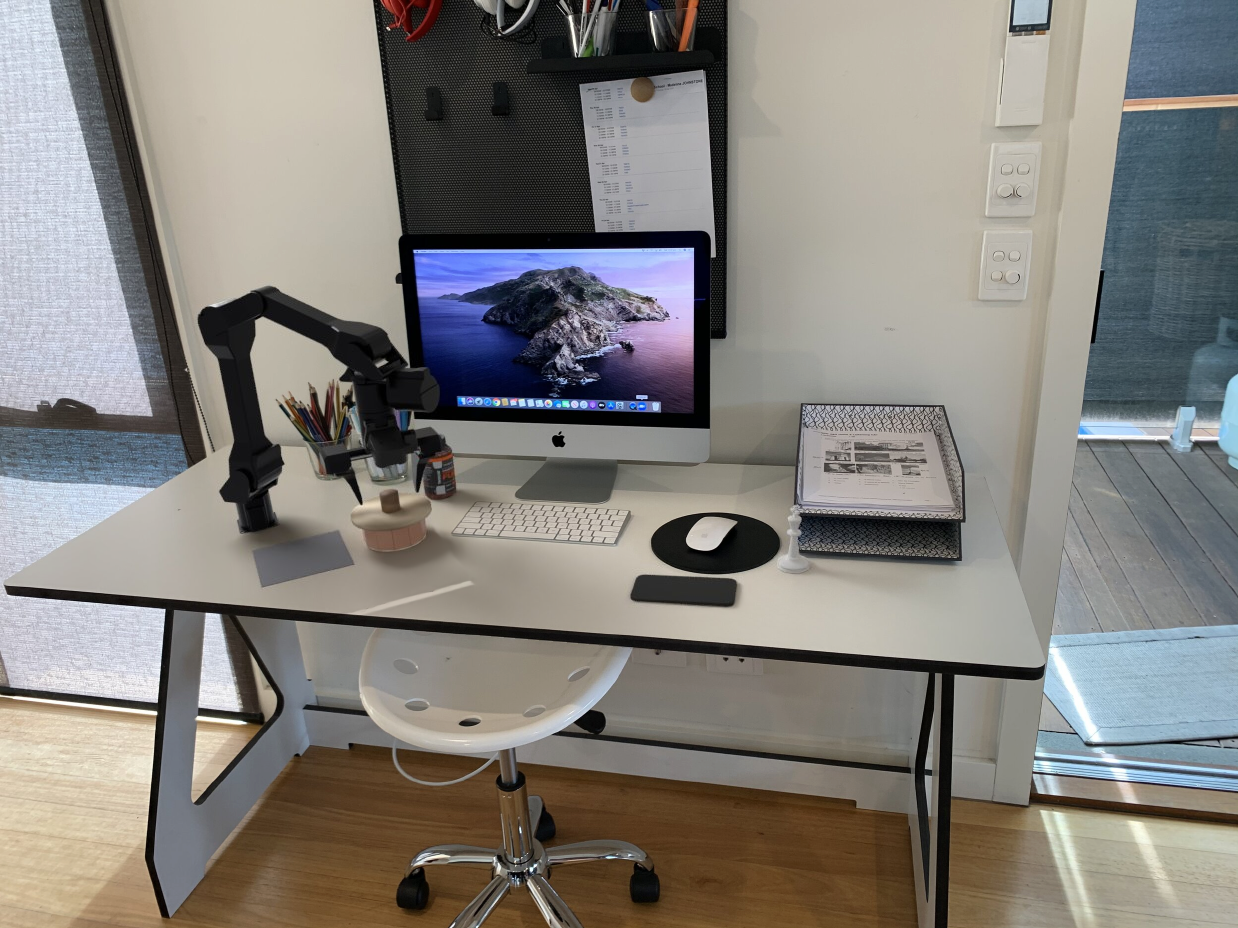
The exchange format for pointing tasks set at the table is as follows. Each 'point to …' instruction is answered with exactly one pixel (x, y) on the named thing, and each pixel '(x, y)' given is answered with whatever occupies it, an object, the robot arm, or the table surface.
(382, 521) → the lid
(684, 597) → the phone
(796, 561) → the chess piece
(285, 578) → the mat
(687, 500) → the table surface
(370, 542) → the bowl
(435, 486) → the supplement bottle
